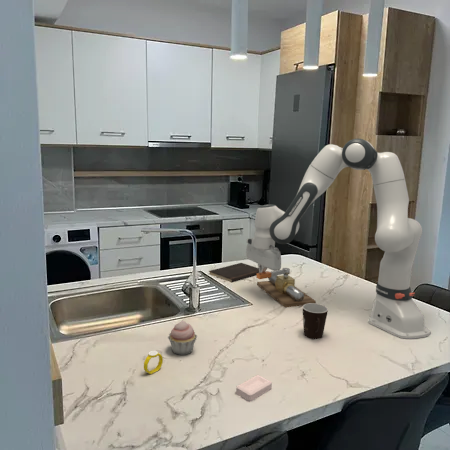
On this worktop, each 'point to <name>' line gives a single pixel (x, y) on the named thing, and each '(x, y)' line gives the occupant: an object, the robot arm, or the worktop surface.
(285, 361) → the worktop surface
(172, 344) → the cupcake
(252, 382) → the soap bar
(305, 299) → the mount board
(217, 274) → the hardcover book
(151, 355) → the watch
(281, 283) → the valve body
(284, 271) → the valve lever
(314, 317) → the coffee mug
